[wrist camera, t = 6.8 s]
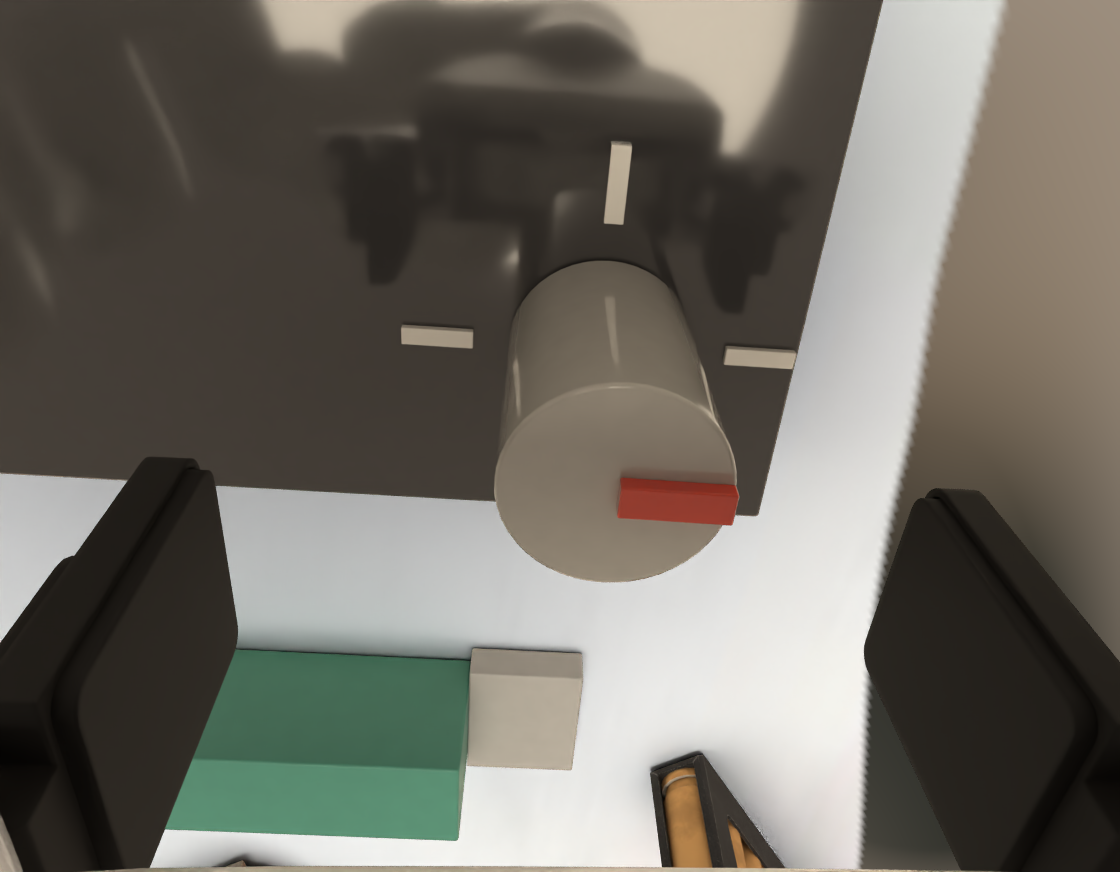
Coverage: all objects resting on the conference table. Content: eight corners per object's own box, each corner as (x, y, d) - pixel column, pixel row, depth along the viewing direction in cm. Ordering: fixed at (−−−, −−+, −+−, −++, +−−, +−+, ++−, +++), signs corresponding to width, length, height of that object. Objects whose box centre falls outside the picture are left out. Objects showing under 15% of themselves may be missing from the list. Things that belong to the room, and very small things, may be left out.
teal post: (155, 631, 24) (94, 742, 21) (582, 652, 25) (586, 763, 22) (178, 726, 26) (125, 840, 23) (571, 744, 27) (573, 857, 24)
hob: (0, 413, 20) (-69, 475, 18) (-240, -365, 13) (-405, -424, 11) (738, 457, 21) (759, 522, 19) (893, -254, 14) (959, -288, 12)
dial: (504, 418, 18) (487, 590, 13) (514, 251, 16) (498, 384, 11) (675, 430, 18) (716, 603, 13) (704, 267, 16) (765, 404, 11)
